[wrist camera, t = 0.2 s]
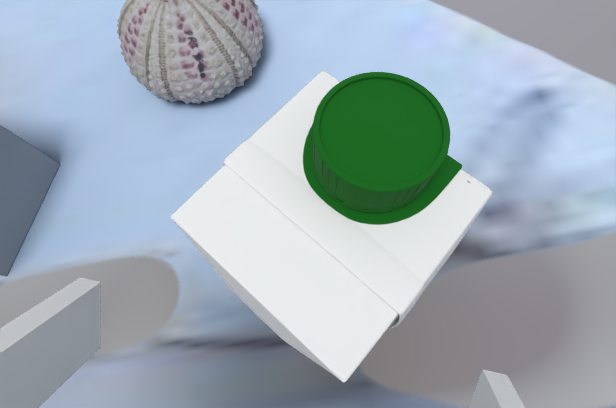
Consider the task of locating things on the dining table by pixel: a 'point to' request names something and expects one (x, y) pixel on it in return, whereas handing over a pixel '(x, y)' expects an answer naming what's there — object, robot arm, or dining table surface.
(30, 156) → the grey cube
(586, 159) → the dining table surface
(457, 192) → the milk carton
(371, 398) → the dining table surface
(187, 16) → the sea urchin shell
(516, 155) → the dining table surface
